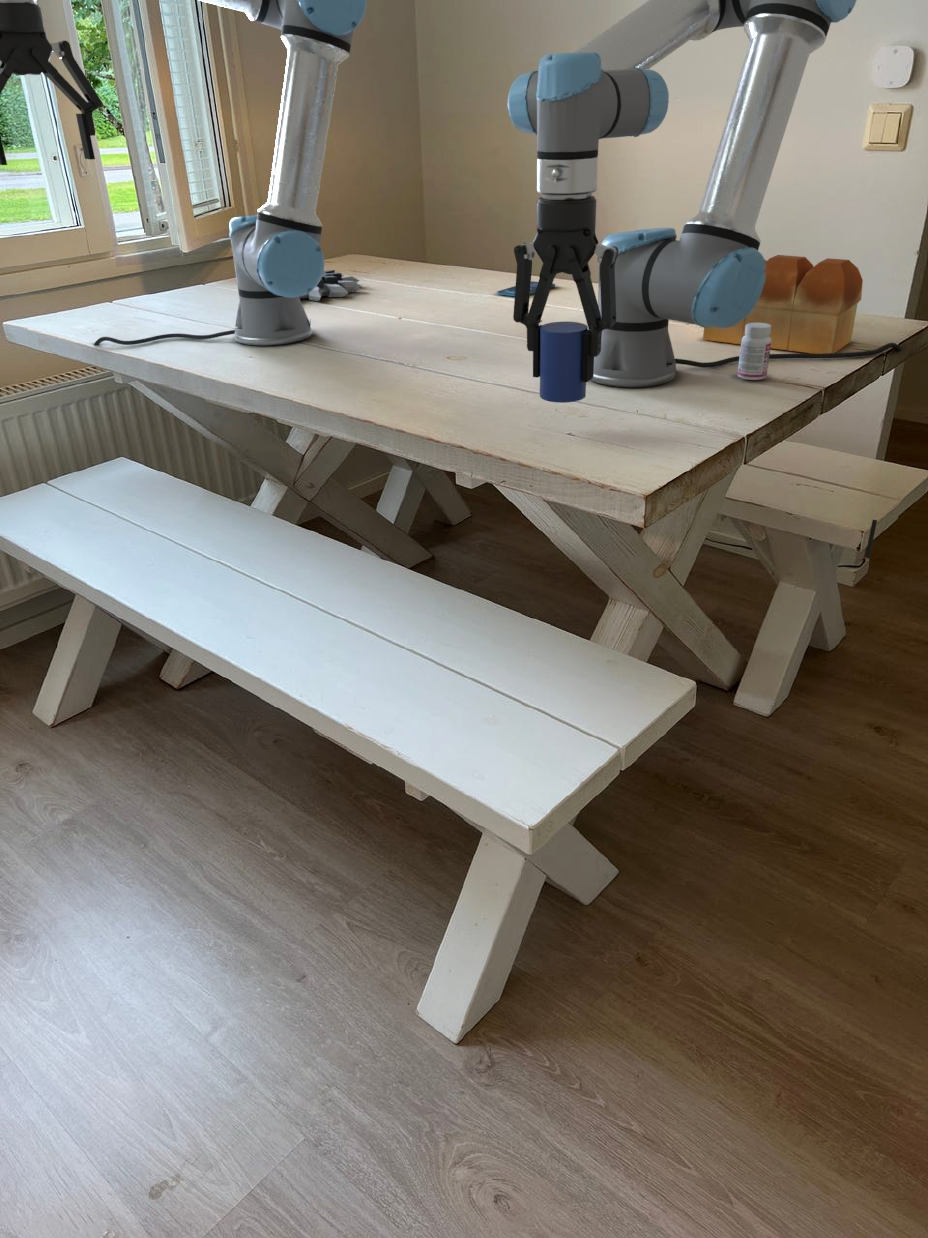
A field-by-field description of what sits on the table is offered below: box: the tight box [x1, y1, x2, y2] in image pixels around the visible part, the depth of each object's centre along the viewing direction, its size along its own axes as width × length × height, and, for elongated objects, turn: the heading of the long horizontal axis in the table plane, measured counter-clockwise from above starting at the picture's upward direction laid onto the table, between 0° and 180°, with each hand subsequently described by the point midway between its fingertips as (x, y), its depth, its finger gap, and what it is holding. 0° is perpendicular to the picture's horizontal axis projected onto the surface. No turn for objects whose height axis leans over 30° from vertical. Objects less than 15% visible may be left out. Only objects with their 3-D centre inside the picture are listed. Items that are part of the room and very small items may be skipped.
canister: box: [539, 321, 589, 404], centre depth 129 cm, size 6×6×9 cm
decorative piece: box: [299, 269, 363, 302], centre depth 230 cm, size 30×4×30 cm
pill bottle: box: [737, 323, 772, 381], centre depth 155 cm, size 5×5×8 cm
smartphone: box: [496, 280, 556, 297], centre depth 225 cm, size 8×1×15 cm
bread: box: [702, 254, 864, 354], centre depth 174 cm, size 25×12×15 cm, turn 54°
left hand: (47, 161), depth 150 cm, fingers open, 13 cm apart
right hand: (562, 376), depth 130 cm, fingers closed on canister, 6 cm apart
